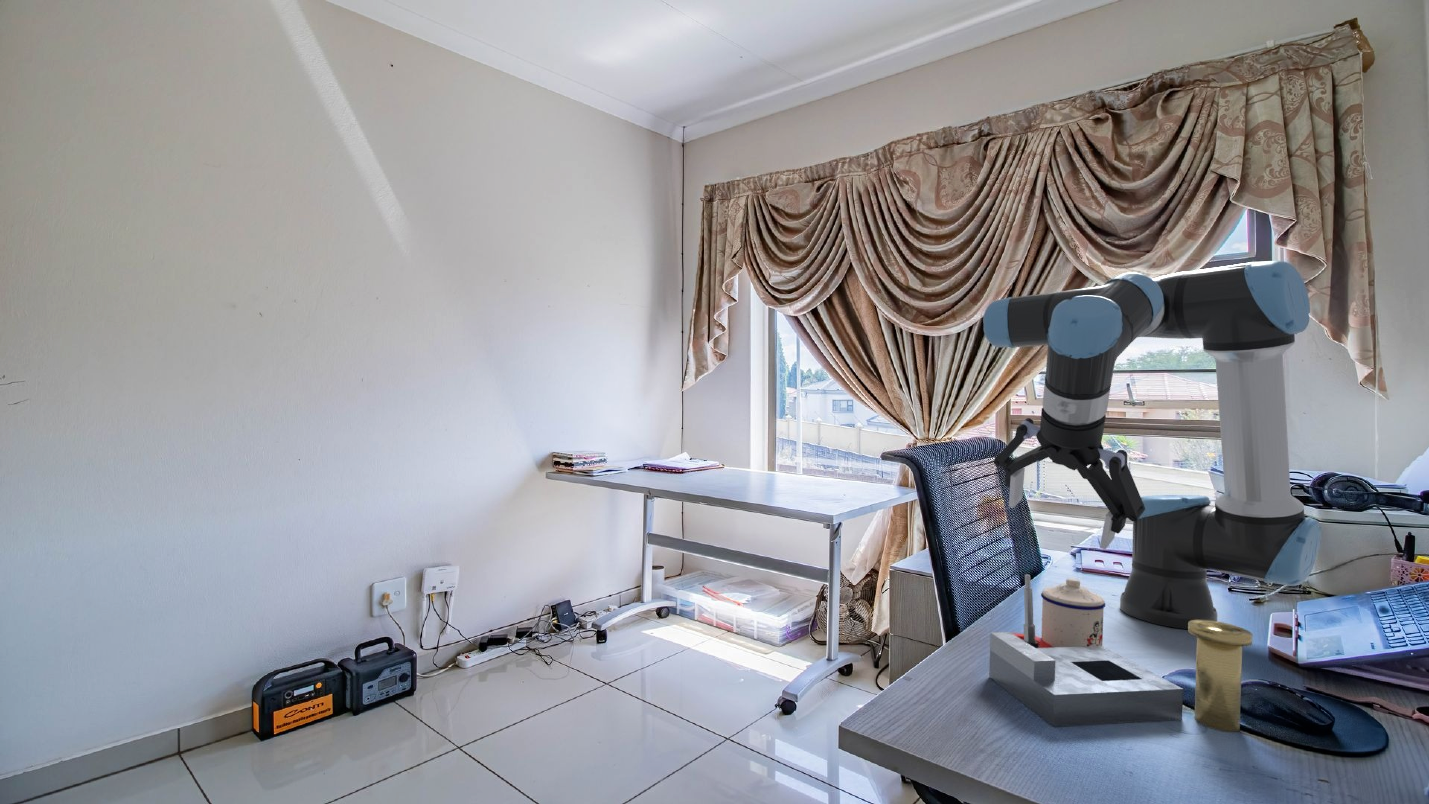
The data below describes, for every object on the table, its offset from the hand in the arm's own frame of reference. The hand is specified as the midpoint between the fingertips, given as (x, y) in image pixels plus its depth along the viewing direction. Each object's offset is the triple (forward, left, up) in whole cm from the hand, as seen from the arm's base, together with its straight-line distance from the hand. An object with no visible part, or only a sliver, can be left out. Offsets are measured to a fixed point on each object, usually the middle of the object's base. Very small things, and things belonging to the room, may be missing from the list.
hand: (1058, 521), depth 97 cm
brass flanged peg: (-10, +17, -22) cm, 30 cm away
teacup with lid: (-8, -7, -22) cm, 25 cm away
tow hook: (+1, -7, -22) cm, 23 cm away
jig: (+3, +9, -22) cm, 24 cm away
